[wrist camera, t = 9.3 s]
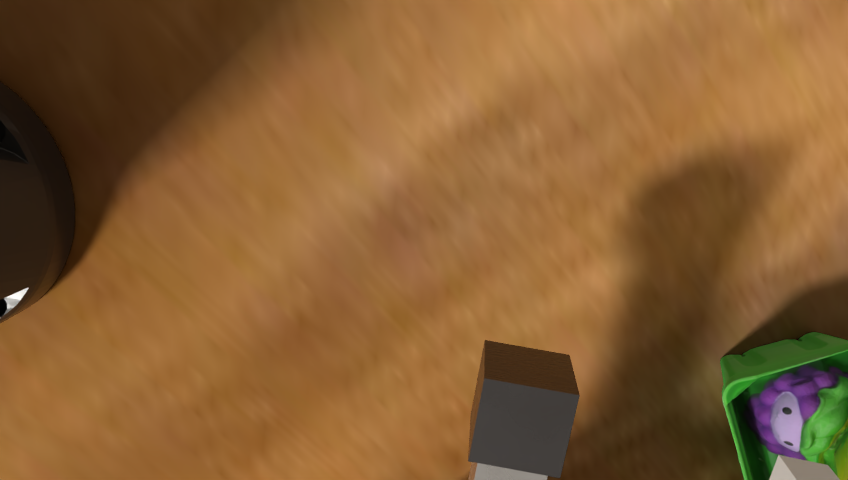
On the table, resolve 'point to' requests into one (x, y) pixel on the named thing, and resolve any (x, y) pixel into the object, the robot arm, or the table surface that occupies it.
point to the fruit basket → (789, 403)
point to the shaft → (521, 413)
